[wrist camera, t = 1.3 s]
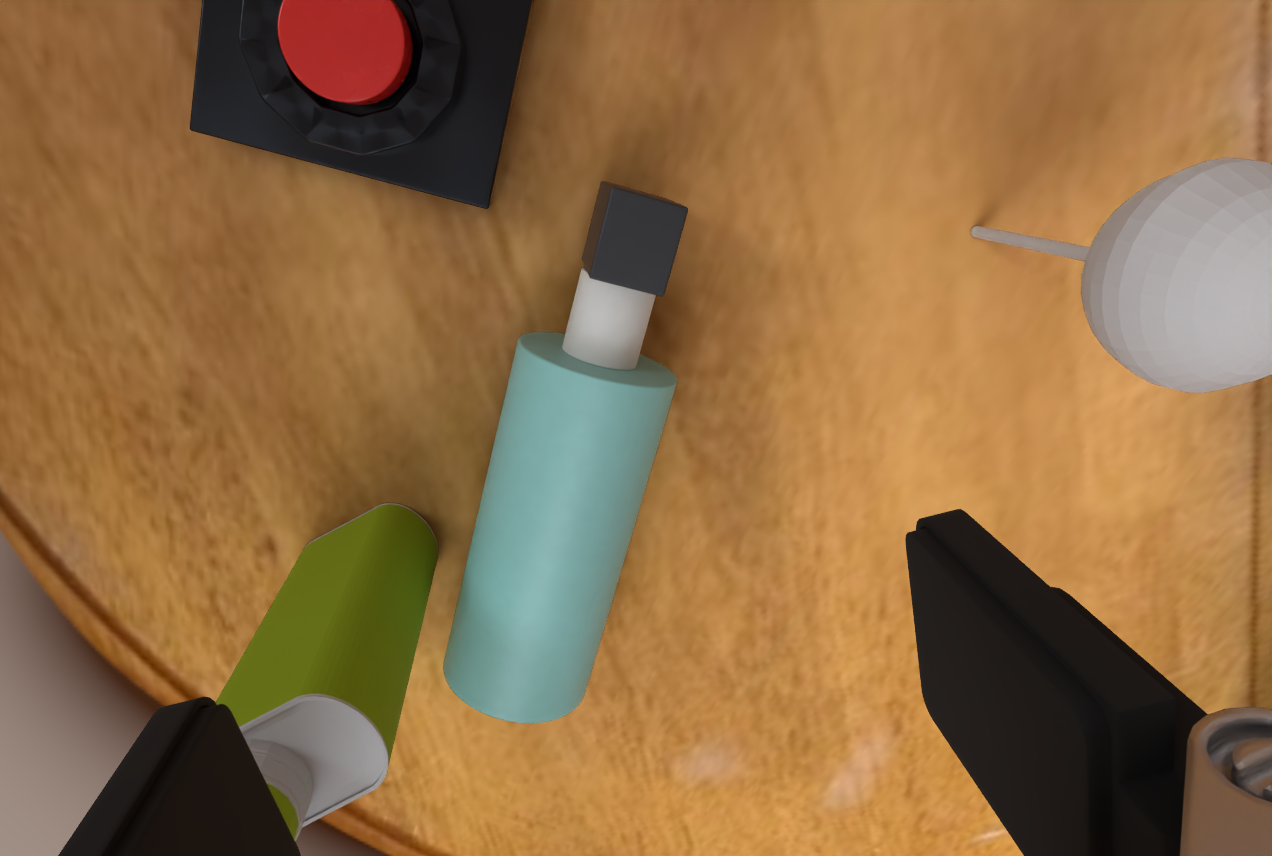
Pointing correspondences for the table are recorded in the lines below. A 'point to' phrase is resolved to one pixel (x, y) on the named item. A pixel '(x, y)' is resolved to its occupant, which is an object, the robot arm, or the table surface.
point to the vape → (335, 662)
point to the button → (346, 47)
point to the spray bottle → (567, 475)
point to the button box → (384, 131)
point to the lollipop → (1181, 276)
